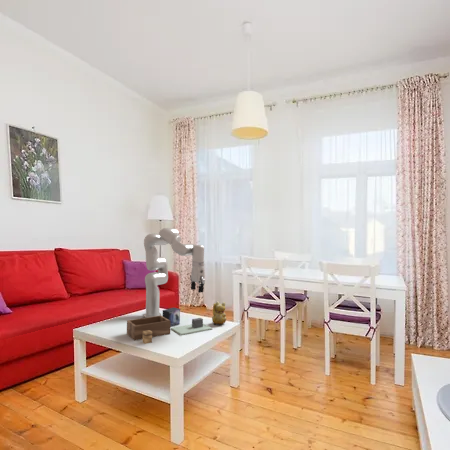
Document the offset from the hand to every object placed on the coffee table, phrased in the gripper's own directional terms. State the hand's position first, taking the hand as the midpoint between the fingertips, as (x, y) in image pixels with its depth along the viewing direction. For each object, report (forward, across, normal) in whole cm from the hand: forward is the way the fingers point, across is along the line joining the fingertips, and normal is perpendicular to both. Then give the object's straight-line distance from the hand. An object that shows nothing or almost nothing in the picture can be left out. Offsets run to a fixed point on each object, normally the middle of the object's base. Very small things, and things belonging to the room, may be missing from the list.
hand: (196, 290), depth 207 cm
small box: (+25, +14, +11) cm, 30 cm away
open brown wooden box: (+24, +5, +30) cm, 39 cm away
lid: (+25, -1, +3) cm, 25 cm away
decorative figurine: (+24, -1, -17) cm, 30 cm away
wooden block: (+24, -8, +36) cm, 44 cm away
